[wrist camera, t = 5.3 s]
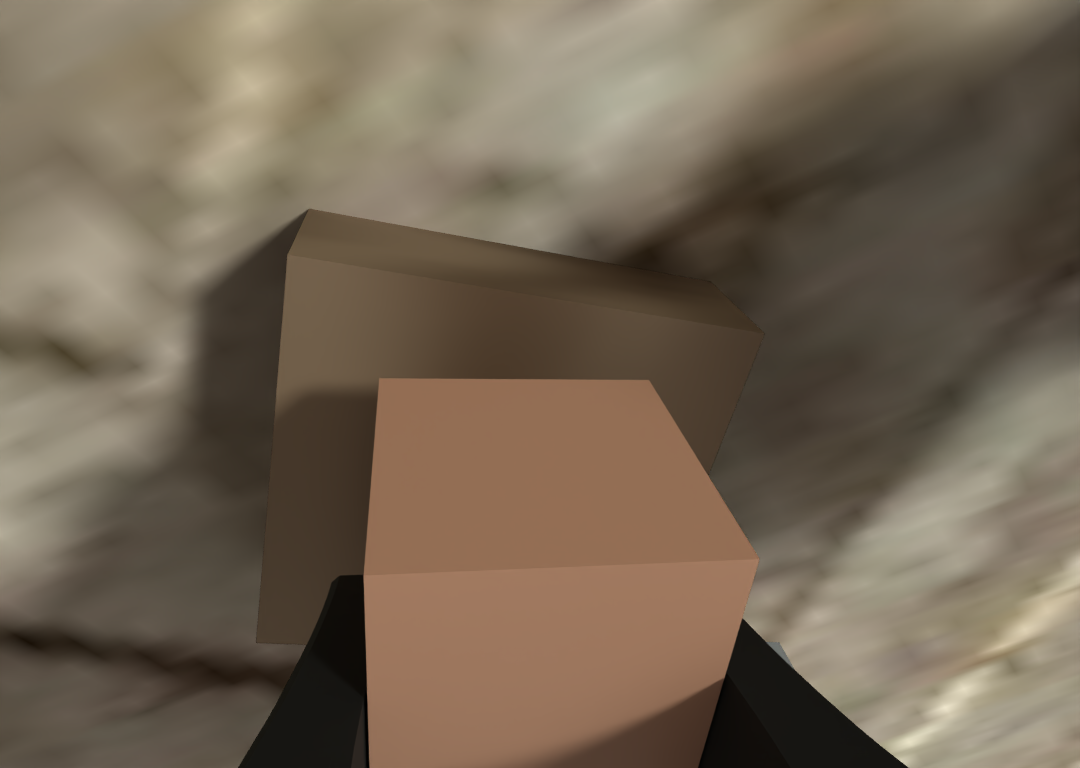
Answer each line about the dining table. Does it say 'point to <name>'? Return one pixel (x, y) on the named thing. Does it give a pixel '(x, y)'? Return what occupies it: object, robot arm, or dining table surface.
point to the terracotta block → (544, 578)
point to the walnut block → (456, 368)
